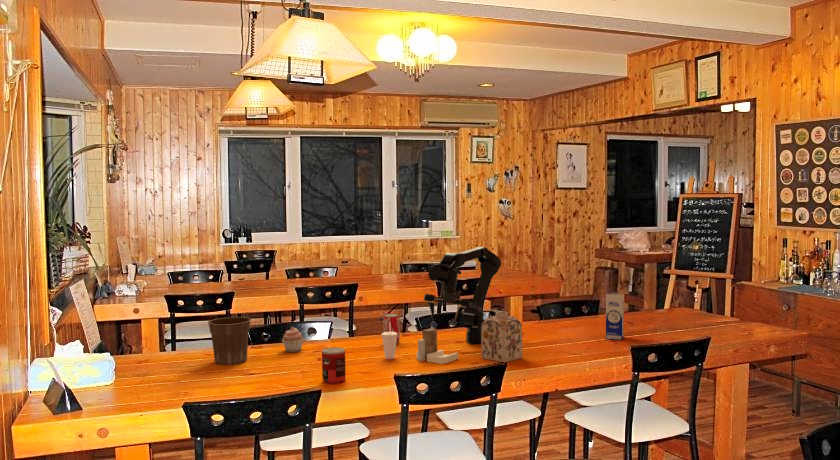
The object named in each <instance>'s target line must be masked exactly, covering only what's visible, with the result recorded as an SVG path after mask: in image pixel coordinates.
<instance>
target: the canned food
mask: <svg viewBox="0 0 840 460" xmlns="http://www.w3.org/2000/svg"><path fill="white" fill-rule="evenodd" d="M321 370H322V371H321V373H322V377H321V378H322V379H321V380H322V382H323V383H325V384H328V385H337V384H342V383H344V382H345V381H346V378H347V377H346V349H345V348H343V347H336V346H335V347H326V348H323V349H321Z"/></svg>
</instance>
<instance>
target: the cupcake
mask: <svg viewBox="0 0 840 460" xmlns="http://www.w3.org/2000/svg"><path fill="white" fill-rule="evenodd" d="M304 340H305V337H303V334H302V333H301V331H299V329H298V328H296V327H294V326H291V327H290V329H289V330H286V331H285V333H284V334H283V337H282V339H281V342H282V343H283V347H284V349H285V352H287V353H296V352H300V351H302V347H303V343H304Z"/></svg>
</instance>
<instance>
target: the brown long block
mask: <svg viewBox="0 0 840 460" xmlns="http://www.w3.org/2000/svg"><path fill="white" fill-rule="evenodd" d="M422 339H423V340H425V360H427V354H430V353H433V352H436V351H438V329H437V328H432V327H431V328H427V329H423V330H422Z"/></svg>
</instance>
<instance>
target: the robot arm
mask: <svg viewBox="0 0 840 460" xmlns="http://www.w3.org/2000/svg"><path fill="white" fill-rule="evenodd" d="M443 255H444V256H443V258H442V259H441V260H440V261H439V263H433V266H432V267H431V268H430V269H429V270H428V275H427V276H428V279H429V280H430V281H433V282H439V283H442V284H441V290H440V297H439V296H435V294H429V293H425V294H424V295H423V301H426V302H425V303H426V304H428V306H429V309H430V314H431V320H432V321H434V319H435V302H439V303H445V304H446V303H447V304H452V305H453V304H454V305H458V306H457V308H456V313H455V317H454V324H457V322H458V319H459V318H460V315H462V317H461V319H462V323H463V326H464V328H467V330H466V332H465V333H466V335H465V342H466V343H468V344H470V345H477V344H479V345H480V344H481V325H482V323H483V322H484V321H485V320H486V319H484V308H483V306H484V303H485V300H486V297H487V294H488V292H489V288H490V285H491V281H492V279H493V277H494V276H495V275H496V274H497V273H498V272H499V269H500V268H501V266H502V261H501V259H500V257H499V256H498V255H497V254H495V253H494V252H492V251H490V250H489V249H488V248H487V247H485V246H477V247H474V248H471V249H468V250H464V251H460V252H445V254H443ZM475 259H476V260H477V261H478V262H479V264H480V266H479V269H480V276H479V279H478V283H477V285H476V289H475V291H474V295H473V297H472V300H471V301H470V300H469V299H463V298H461V295H462V294H461V293H462V291H461V290H456V289H457V288H456V287H457V282H458V281H457V280H458V275H462V272H461V270H460V269H459V268H460V267H462V266H464V265H465V263H466V262H470V261H472V260H475Z"/></svg>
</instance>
